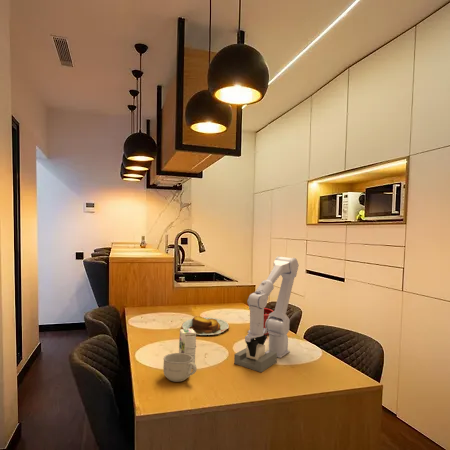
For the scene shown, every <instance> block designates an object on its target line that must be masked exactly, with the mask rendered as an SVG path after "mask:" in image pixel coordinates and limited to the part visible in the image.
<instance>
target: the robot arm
mask: <svg viewBox="0 0 450 450" xmlns="http://www.w3.org/2000/svg"><path fill="white" fill-rule="evenodd" d="M298 270H299V262H298V260H297V258H295V257H286V256H280V255H278V256H276V257H275V259H274V260H273V268H272V269H271V271H270V273H269V275H268V276H267V278H266V279H263V280H262V281H261V282H260V284H259V285H258V286H257V288H256V289H255V291H254V292H252V293H250V294H249V296H248V298H247V305H248V310H249V330H247V334H246V335H245V337H244V342H245V344H246V347H247V346H248V349H249V353H250V356H252V357H255V354H256V348H257V344H258V343H259V344H262V345H265V343H266V341H267V339H268V349H267V350H265V354H267V353H269V352H271V351H273V352H276V353H277V358H279V359H280V358H283V357H284V356H285V355H287V354H288V353H290V350H289V348H288V347H289V346H288V345H289V337H288V333H290V332H289V331H290V321H291V320H290V318H289V317H288V315H287V311H288V307H289V302H290V297H291V294H292V289H293V285H294V280H295V278H296V277H297V274H298ZM280 276H281V278H282V280H281V284H280V288H279V292H278V296H277V299H276V304H275V308H274V310H273V312H272V313H270V314H269V317H268V319H267V320H266V323H265V327H266V329H265V328H263V324H264V308H266V307H267V304H268V301H269V296H270V295H271V293H272V292H273V290H274V288H275V286H274V284H275V282H277V280H278V279H279V278H280ZM267 330H268V333H269V334H268V335H264V333H265V334H266V333H267Z"/></svg>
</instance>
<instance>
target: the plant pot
mask: <svg viewBox="0 0 450 450" xmlns="http://www.w3.org/2000/svg"><path fill="white" fill-rule="evenodd" d="M273 311H274V310H273V309H270V308H267V307H265V308H264V324H263V328H265V329H266V327H265V323H266V320H267V319H268V317H269V314H270V313H272V312H273ZM264 335H266V336H268V335H269V333H268V330H267V333H266V334H265V333H264Z"/></svg>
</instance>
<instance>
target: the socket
mask: <svg viewBox="0 0 450 450" xmlns="http://www.w3.org/2000/svg"><path fill="white" fill-rule="evenodd" d="M233 358H234V360H233V361H234V362H233V363H234V365H238V366H240V367H243V368H247V369H249V370H253V371H255V372H259V373H263V372H264V371H266V370H267V369H269V368H270V367H271V366H273V365H275V364H276V363H277V362H278V361H277V359H278V357H277V353H276V352H273V351H271V352H269V353H267V354H265V355H264V356H262V357H261V358H259V359H257V360H255V359H252V360H251V359H249V358H248V357H246V347H245V348H244V349H241V350H239V351H238V352H236V353H234V357H233Z"/></svg>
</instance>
